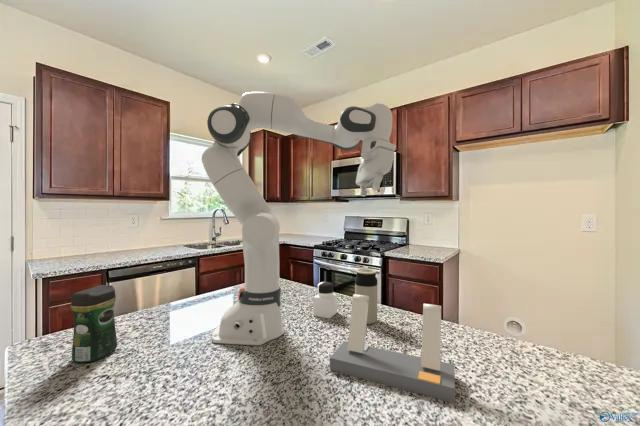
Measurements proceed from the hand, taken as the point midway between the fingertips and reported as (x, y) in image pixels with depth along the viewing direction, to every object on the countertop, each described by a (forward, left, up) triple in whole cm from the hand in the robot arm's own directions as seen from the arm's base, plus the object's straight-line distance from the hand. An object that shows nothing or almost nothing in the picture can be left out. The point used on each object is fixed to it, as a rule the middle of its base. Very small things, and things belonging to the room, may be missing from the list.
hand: (369, 192), depth 90 cm
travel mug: (+2, +11, -45) cm, 47 cm away
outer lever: (+8, -26, -42) cm, 50 cm away
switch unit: (0, -22, -45) cm, 50 cm away
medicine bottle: (-12, +18, -45) cm, 50 cm away
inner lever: (-8, -17, -42) cm, 46 cm away
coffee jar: (-78, -7, -45) cm, 91 cm away
